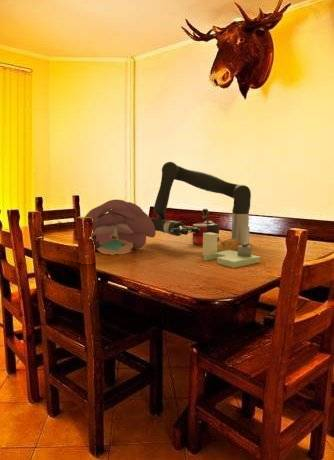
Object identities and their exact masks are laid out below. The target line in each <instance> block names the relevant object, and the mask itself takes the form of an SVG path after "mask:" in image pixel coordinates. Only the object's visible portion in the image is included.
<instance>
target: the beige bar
mask: <svg viewBox="0 0 334 460" xmlns="http://www.w3.org/2000/svg"><path fill="white" fill-rule="evenodd" d="M218 237H219V238H220V233H219V234H216V233H211V232H209V233H203V245H202V257H204V254H209V253H215V252H217V244H218V240H217V238H218Z"/></svg>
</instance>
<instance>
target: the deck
mask: <svg viewBox="0 0 334 460" xmlns="http://www.w3.org/2000/svg"><path fill="white" fill-rule="evenodd" d="M203 260H204V261H209V260H216V264H219V265H222V266H226V267H229V268H232V269H234V268H238V267H243V266H248V265H253V264H258V263H261V262H260V261H261V256H259V255H258V256H257V255H253V254H252V246H250V245H248V244H245V243H243V244H242V245H240V246H238V252H236V251H232V250H227V251H221V252H215V253H209V254H204V256H203Z"/></svg>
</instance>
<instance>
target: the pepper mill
mask: <svg viewBox="0 0 334 460" xmlns="http://www.w3.org/2000/svg"><path fill="white" fill-rule="evenodd" d="M201 212H202V213H203V215H202V218H206V220H205V221H202V222H201V223H199V224H206V225H207V233H209V232H211V233H216V234H219V235H220V224H219V223H218V224H217V223H216V222H214V221H213V220H209V219H210V218H209V216H210V213H209V209H208V208H203V209H202V210H201ZM218 240H220V236H219V237H218V238H217V241H218Z"/></svg>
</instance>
